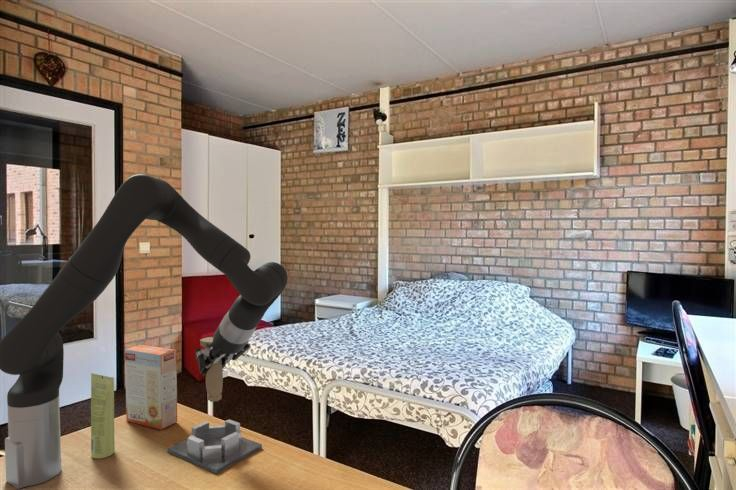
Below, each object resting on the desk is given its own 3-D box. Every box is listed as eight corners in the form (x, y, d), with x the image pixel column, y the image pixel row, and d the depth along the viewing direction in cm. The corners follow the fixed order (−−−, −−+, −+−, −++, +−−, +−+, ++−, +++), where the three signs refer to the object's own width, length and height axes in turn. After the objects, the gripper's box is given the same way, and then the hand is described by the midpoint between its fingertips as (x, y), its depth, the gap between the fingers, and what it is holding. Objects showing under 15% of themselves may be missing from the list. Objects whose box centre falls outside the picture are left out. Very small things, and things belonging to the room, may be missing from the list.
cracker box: (178, 422, 129) (177, 349, 128) (161, 431, 123) (159, 354, 122) (143, 413, 134) (142, 343, 133) (125, 421, 129) (123, 348, 128)
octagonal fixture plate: (216, 474, 102) (215, 452, 102) (167, 452, 112) (167, 432, 112) (261, 448, 114) (261, 428, 114) (214, 430, 124) (213, 412, 123)
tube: (119, 447, 114) (117, 370, 113) (115, 457, 110) (113, 377, 109) (93, 451, 112) (91, 372, 111) (88, 461, 108) (86, 379, 107)
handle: (220, 405, 109) (219, 343, 108) (197, 402, 111) (196, 341, 110) (231, 397, 114) (230, 338, 113) (209, 395, 115) (208, 336, 115)
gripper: (255, 311, 111) (229, 351, 120) (201, 321, 101) (176, 363, 110) (268, 337, 108) (241, 376, 117) (213, 349, 98) (187, 391, 106)
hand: (210, 370), depth 113 cm, fingers closed on handle, 3 cm apart
